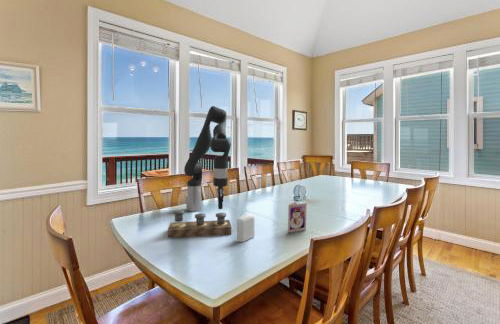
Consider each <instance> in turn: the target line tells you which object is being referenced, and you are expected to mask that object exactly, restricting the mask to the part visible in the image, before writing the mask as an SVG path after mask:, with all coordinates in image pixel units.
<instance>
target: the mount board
mask: <svg viewBox="0 0 500 324" xmlns="http://www.w3.org/2000/svg"><path fill="white" fill-rule="evenodd" d="M227 235H228V236H229V235H232V225H231V222H230V219H225V224H217V219H216V220H204V225H196V220H195V221H181V222H176V221H174V222H170V223H169V225H168V227H167V239H174V238H190V237H191V238H192V237H207V236H208V237H209V236H213V237H214V236H227Z"/></svg>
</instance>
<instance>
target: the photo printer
mask: <svg viewBox="0 0 500 324" xmlns="http://www.w3.org/2000/svg"><path fill="white" fill-rule="evenodd" d="M255 219H256V218H255V215H254V214H251V213H245V214H242V215H241V216H239V218H238V219H237V220H236V240H237V241H238V243H244V242H245V241H249V240H251V239H252V238H255V231H256V230H255V229H256V227H255V226H256V225H255V223H256V222H255V221H256V220H255Z"/></svg>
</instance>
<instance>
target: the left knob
mask: <svg viewBox="0 0 500 324" xmlns="http://www.w3.org/2000/svg"><path fill="white" fill-rule="evenodd" d="M172 214H173V215H174V222H184V217H183V216H184V214H185V210H184V209H175V210H173V211H172Z"/></svg>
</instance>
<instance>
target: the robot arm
mask: <svg viewBox="0 0 500 324" xmlns="http://www.w3.org/2000/svg"><path fill="white" fill-rule="evenodd" d="M227 116H228V113H227V111H226V110H224V109H222V108H220V107H216V106H213V105H212V106H211V107H210V108H209V110H208V112H207V115H206V117H205V121H204V122H203V123H204V124H203V125H202V129H201V131H200V133H199V135H198V138H197V139H196V143H195V145H194V147H193V149H192V152H191V154H190V156H189V157H188V159H187V161H186V163H185V165H184V170H183V171H184V174H185V176H188V177H191V178H190V179H189V180H188V181H187V182H186V185H187V186H186V187H187V189H186V190H187V191H186V192H187V196H186V197H185V199H186V200H185V201H186V205H185V208H186V209H185V210H186V211H188V212H191V213H193V212H199V211H201V210H202V181H203V165H202V164H201V162H199V160H200V159H201V158H203V157H204V156H205V155H206V154H207V153H208V151H209V150H211V152H213V153H222V155H220V156H216V157H214V159H213V175H212V176H213V177H212V179H213V181H212V183H213V186H214V187H217V188H216V198H217V205H218V207H217V208H218V210H223V207H224V206H223V202H224V198H225V188H224V187H227V186H228V185H229V183H228V182H229V181H228V180H229V179H228V177H229V176H228V173H229V172H228V157H229V153H230V151H231V146H232V143H231V140H230V139H228V138H227V133H226V132H227V131H226V126H227V118H228V117H227ZM211 123H215V124H216V125H215V126H214V128H213V130H212V133H211ZM212 136H213V137H212Z"/></svg>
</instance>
